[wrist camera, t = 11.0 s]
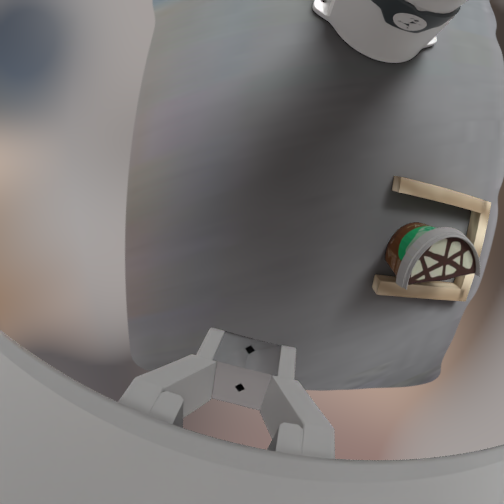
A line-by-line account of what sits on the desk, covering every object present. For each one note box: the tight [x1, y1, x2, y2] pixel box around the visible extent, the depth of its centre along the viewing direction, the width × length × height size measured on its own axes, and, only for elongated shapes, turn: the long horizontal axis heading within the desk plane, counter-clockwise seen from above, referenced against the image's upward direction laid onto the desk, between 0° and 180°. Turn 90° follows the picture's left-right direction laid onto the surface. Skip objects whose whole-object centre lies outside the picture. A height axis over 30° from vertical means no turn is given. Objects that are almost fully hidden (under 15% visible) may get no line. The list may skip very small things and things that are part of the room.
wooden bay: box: [372, 176, 491, 301], centre depth 35 cm, size 16×17×2 cm
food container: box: [385, 222, 480, 290], centre depth 31 cm, size 12×6×10 cm, turn 97°
